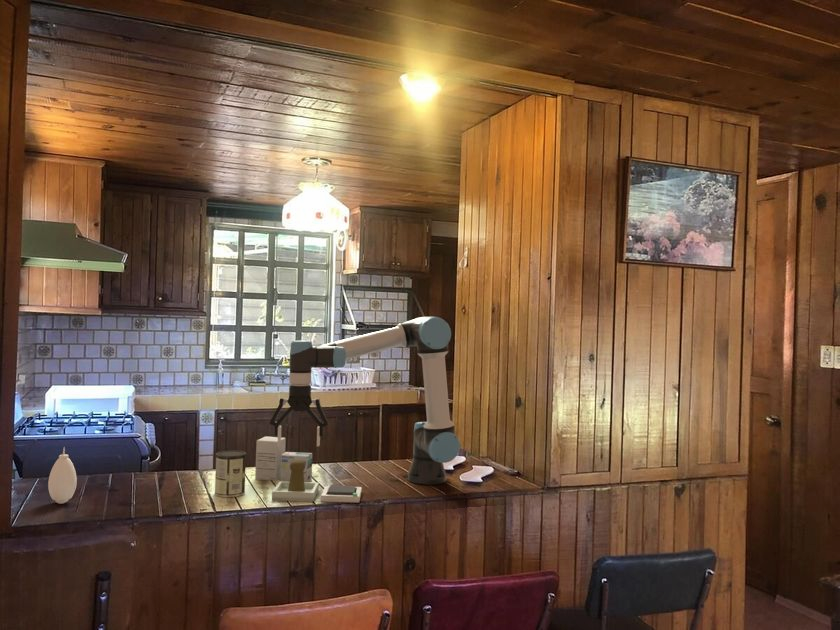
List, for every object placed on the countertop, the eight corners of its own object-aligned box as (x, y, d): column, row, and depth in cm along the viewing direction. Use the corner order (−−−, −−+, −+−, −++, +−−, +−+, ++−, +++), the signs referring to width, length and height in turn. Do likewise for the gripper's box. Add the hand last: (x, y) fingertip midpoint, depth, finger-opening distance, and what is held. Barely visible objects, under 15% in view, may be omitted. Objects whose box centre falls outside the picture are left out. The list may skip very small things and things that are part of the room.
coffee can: (228, 488, 235) (229, 449, 235) (251, 492, 231) (252, 452, 231) (207, 494, 226) (209, 453, 226) (231, 499, 221) (232, 457, 221)
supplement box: (263, 473, 258) (264, 435, 259) (285, 475, 257) (286, 437, 257) (254, 479, 249) (255, 439, 250) (276, 480, 248) (278, 441, 248)
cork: (288, 490, 232) (289, 459, 232) (305, 490, 232) (307, 459, 232) (286, 494, 226) (287, 462, 226) (304, 495, 226) (305, 463, 226)
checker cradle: (361, 492, 236) (361, 484, 236) (359, 502, 223) (359, 494, 223) (325, 491, 236) (325, 483, 236) (320, 501, 223) (321, 493, 223)
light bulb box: (312, 480, 250) (313, 452, 251) (307, 485, 244) (308, 456, 244) (284, 479, 252) (286, 451, 252) (279, 483, 245) (280, 454, 245)
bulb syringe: (56, 507, 204) (58, 450, 204) (42, 503, 208) (45, 446, 209) (80, 502, 211) (82, 446, 211) (66, 498, 215) (69, 443, 215)
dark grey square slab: (355, 490, 234) (355, 485, 234) (353, 497, 225) (354, 492, 225) (330, 489, 234) (330, 485, 234) (327, 496, 225) (327, 491, 225)
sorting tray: (318, 490, 236) (318, 482, 236) (313, 501, 222) (313, 492, 222) (279, 489, 236) (279, 481, 236) (271, 500, 222) (272, 491, 222)
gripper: (336, 384, 233) (335, 443, 233) (266, 382, 233) (265, 442, 232) (334, 386, 226) (333, 448, 226) (262, 385, 225) (260, 446, 225)
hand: (298, 445), depth 229 cm, fingers open, 13 cm apart
